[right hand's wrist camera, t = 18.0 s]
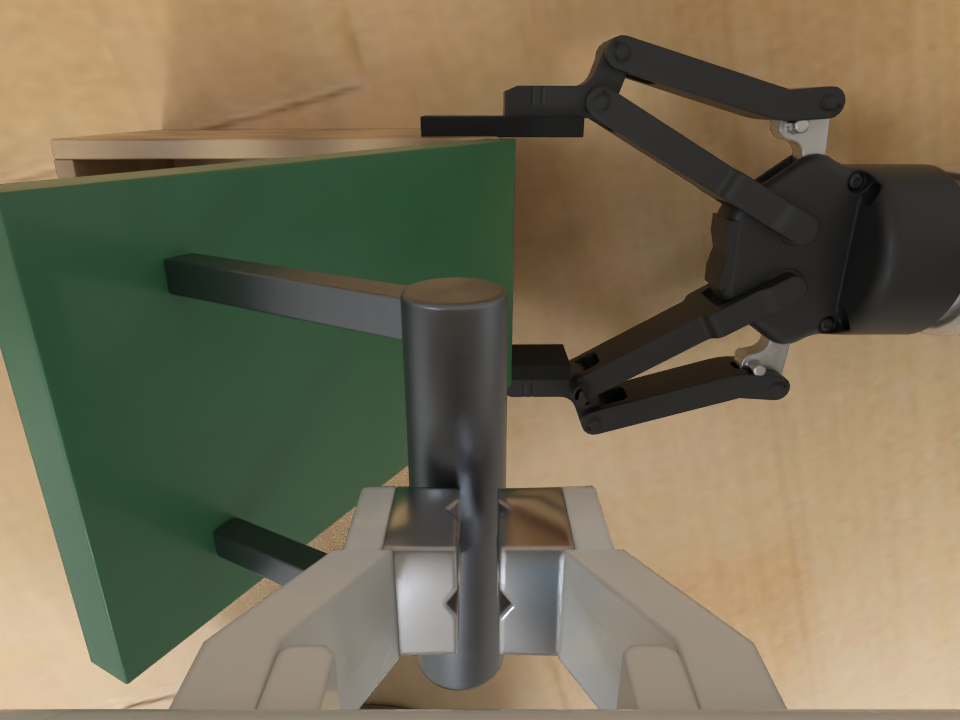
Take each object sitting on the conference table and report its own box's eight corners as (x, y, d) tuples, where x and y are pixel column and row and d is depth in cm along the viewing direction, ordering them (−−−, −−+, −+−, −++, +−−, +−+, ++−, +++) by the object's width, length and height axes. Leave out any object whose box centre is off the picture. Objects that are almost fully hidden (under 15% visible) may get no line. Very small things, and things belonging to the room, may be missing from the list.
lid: (90, 662, 14) (412, 869, 10) (-48, 188, 10) (371, 235, 7) (485, 379, 28) (681, 421, 25) (486, 138, 25) (715, 144, 21)
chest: (191, 312, 37) (103, 378, 28) (160, 129, 34) (48, 139, 25) (491, 310, 38) (498, 375, 29) (492, 128, 34) (500, 137, 25)
